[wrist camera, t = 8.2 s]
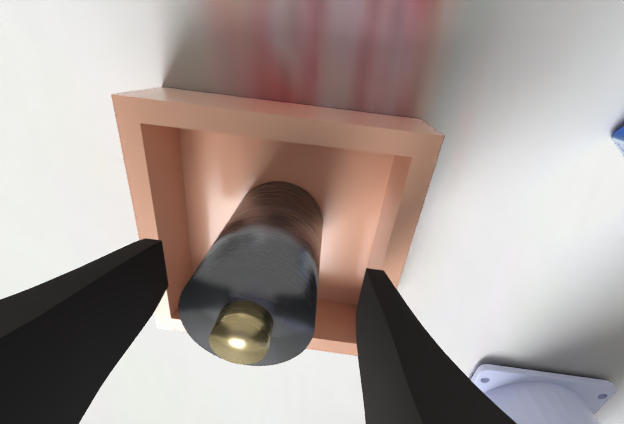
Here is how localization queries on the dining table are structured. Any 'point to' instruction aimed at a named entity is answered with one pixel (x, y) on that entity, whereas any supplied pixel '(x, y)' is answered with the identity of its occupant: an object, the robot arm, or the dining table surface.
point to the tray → (276, 167)
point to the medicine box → (619, 139)
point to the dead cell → (259, 279)
